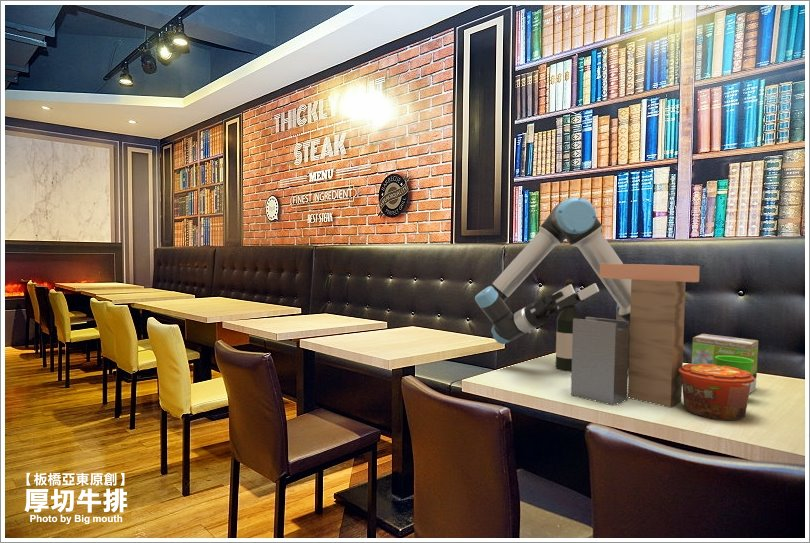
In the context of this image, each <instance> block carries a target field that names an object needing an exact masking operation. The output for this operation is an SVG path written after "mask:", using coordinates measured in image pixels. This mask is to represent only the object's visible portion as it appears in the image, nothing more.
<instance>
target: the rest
mask: <svg viewBox="0 0 810 543" xmlns="http://www.w3.org/2000/svg"><path fill="white" fill-rule="evenodd" d="M628 352H629V321H621V320H616V319H612V318H611V319H610V318H601V317H591V316H585V318H584V319H583V318H581V319H576V318H574V319H573V340H572V371H571V376H570V377H571V380H570V383H571V384H570V386H571V387H570V395H571V396H572V395H574V396H573V397H576V396H579V397H578V398H581V397H583V398H582V399H585V398H587V399H586V400H589V399H591V400H590V401H593V400H596V401H595V402H597V401H600V402H599V403H601V402H604V403H603V404H605V403H608V404H607V405H609V404H612V405H611V406H615V405H614V404H616V405H618V404H620V403H619V402H621V403H623V402H622V401H624V400H626V401H627V400H628V372H629V368H628ZM624 402H625V401H624ZM617 403H618V404H617Z"/></svg>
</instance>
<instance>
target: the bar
mask: <svg viewBox="0 0 810 543" xmlns="http://www.w3.org/2000/svg"><path fill="white" fill-rule="evenodd" d="M700 268H701V266H700V265H677V264H675V265H673V264H671V265H670V264H668V265H667V264H637V263H635V264H633V263H630V264H629V263H623V264H600V274H599V277H598V278H599V279H600V278H613V279H635V280H657V281H680V282H686V283H698V282H700Z"/></svg>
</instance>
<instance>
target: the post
mask: <svg viewBox="0 0 810 543" xmlns="http://www.w3.org/2000/svg"><path fill="white" fill-rule="evenodd" d="M686 283H687V282H680V281H657V280H635V279H631V308H630V340H629V368H628V384H627V398H628V397H630V398H629V399H631V398H634V399H633V400H635V399H638V400H637V401H640V400H642V401H641V402H644V401H647V402H646V403H649V402H651V403H650V404H653V403H655V404H654V405H658V404H660V405H659V406H662V405H664V406H663V407H666V406H668V407H667V408H673V407H674V405H675V406H676V404H677V405H679V404H681V403H682V397H683V389H682V379H681V373H679V372H678V370H679V368H681V367H682V366H683V365H684V364H683V363H684V362H683V361H684V335H685V334H684V333H685V307H686ZM678 403H679V404H678Z"/></svg>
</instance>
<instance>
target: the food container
mask: <svg viewBox="0 0 810 543" xmlns="http://www.w3.org/2000/svg"><path fill="white" fill-rule="evenodd" d="M678 372H679V373H681V379H682V397H683V398H682V400H683V408H684V410H685V411H687V412H688V413H691V414H693V415H697V416H699V417H703V418H707V419H714V420H720V421H739V420H742V419H744V418H746V413H747V407H748V402H749V401H748V400H749V396H750V394H749V391H750V386H751V382H754V377H753V376H752V375H751V374H750V372H748V371H745V370H739V369H738V368H734V367H729V366H717V365H714V364H697V365H695V364H691V363H686V364H683V366H682V367H681V368H679V370H678Z"/></svg>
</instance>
